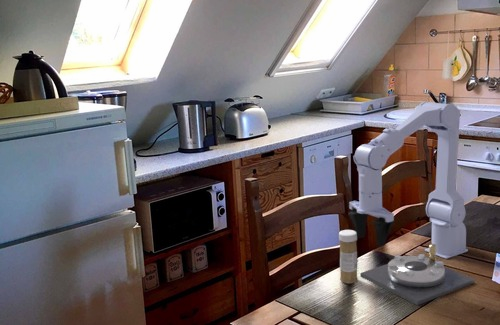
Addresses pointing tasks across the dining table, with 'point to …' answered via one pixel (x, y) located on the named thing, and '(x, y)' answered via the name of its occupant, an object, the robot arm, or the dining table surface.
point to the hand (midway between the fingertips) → (371, 241)
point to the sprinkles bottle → (348, 256)
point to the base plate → (417, 293)
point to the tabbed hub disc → (417, 269)
